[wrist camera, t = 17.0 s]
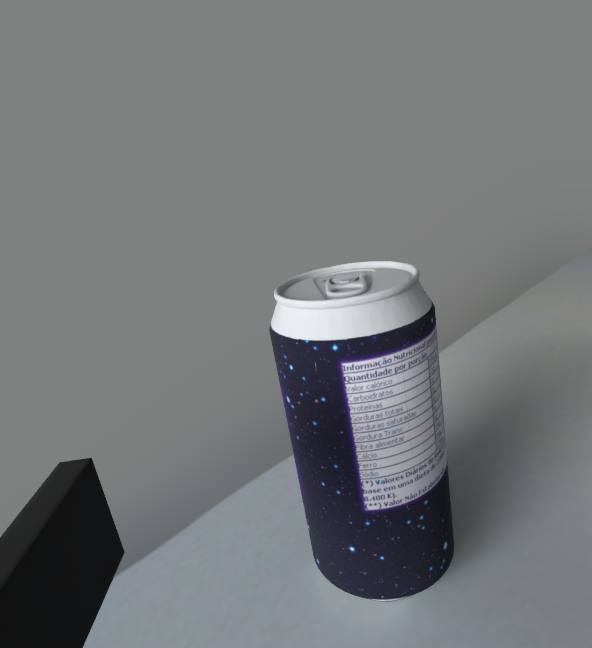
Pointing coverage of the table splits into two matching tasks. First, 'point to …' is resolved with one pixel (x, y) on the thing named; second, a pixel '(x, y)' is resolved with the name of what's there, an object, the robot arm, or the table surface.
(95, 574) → the robot arm
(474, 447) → the table surface
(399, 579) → the beverage can
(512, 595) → the table surface
